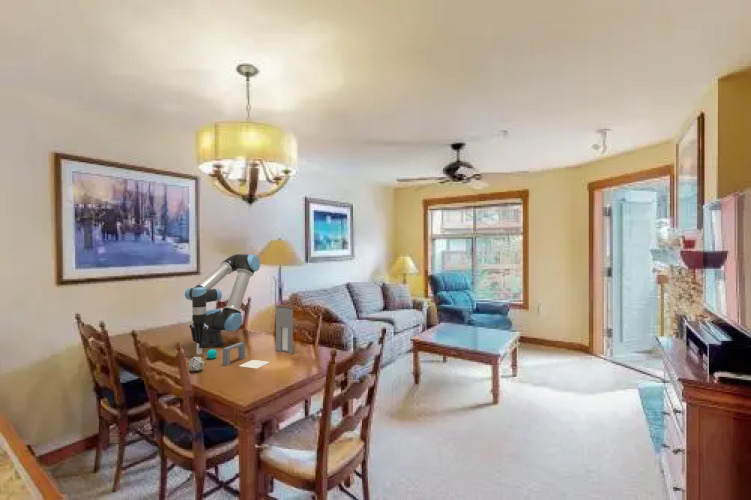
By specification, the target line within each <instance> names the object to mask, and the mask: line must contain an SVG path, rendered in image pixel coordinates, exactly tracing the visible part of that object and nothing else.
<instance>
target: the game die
mask: <svg viewBox="0 0 751 500" xmlns="http://www.w3.org/2000/svg"><path fill="white" fill-rule="evenodd" d="M186 363H187V364H186V365H187V366H189V367H188V368H189V370H190V371H189V372H190V373H191V372H195V371H196V372H199V373H201V370H202V369H203V367H204V366H205V365H206V366H207V363H206V362H205V361H204V359H203V355H201V356H195V355H192V358H191V359H190V360H189V361H188V362H186Z"/></svg>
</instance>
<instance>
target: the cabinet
mask: <svg viewBox="0 0 751 500" xmlns="http://www.w3.org/2000/svg"><path fill="white" fill-rule="evenodd" d="M275 352H281V353H285V354H287V353H288V354H289V355H293V354H294V307H293V305H292V303H290V302H288V303H286V304H281V305H276V306H275Z"/></svg>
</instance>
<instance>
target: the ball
mask: <svg viewBox="0 0 751 500" xmlns="http://www.w3.org/2000/svg"><path fill="white" fill-rule="evenodd" d="M217 356H218V352H217V350H216V349H214V348H211V349H208V351H207V352H206V357H207V358H208V359H210V360H212V359H215V358H216V357H217Z"/></svg>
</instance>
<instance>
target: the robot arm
mask: <svg viewBox="0 0 751 500" xmlns="http://www.w3.org/2000/svg"><path fill="white" fill-rule="evenodd" d="M260 267H261V261H260V259H259V257H258V255H256V254H250V253H249V254H248V253H247V254H244V253H241V254H240V253H237V254H233V255H231V256H228V257H227V258H226V259H225V260H223V261H222V262H220V264H219V266H218V267H217V268H216V269H214V270H213V271H212V272H211V273H210V274H208V276H206V277H205V278H203V279H202V280H201V281H200V282H199V283H198V284H197V285H195V286H194V287H189V288H186V290H185V291H184V296H185V299H186V300H187V301H188V300H189V301H192V306H191V310H192V311H191V312H192V313H191V314H192V316H191V318H192V319H191V320H192V321H193V322H192V324H190V325H189V329H190V332H191V337H192V341H193V342H194V343H195V348H196V355H201V354H203V348H216V347H221V346H223V345H224V344H225V343H224V342H225V340H224V338H223V333H222V331H224V332H225V331H227V332H235V331H237V330H239V328H241V326H242V323H243V315H242V311H241V306H242V303H243V300H244V297H245V294H246V292H247V288H248V286H249V283H250V279H251V278H252V277H253V276H254V274H255V272H258V271H259V270H260ZM233 272H236V273H237V275H236V278H235V281H234V283H233V286H232V289H231V292H230V295H229V298H228V300H227V303H226V306H224V307H223V308H222V310H221V308H215V309H209V310H208V309H207V303H211V302H217V301H219V300H221V298H222V297H223V296H222V295H223V294H222V291H221V290H220V289H219V288H214V287H215V286H217V284H218V283H220V282H221V281H222V280H223V279H224V278H225V277H226V276H227V275H230V274H232V273H233Z"/></svg>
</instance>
